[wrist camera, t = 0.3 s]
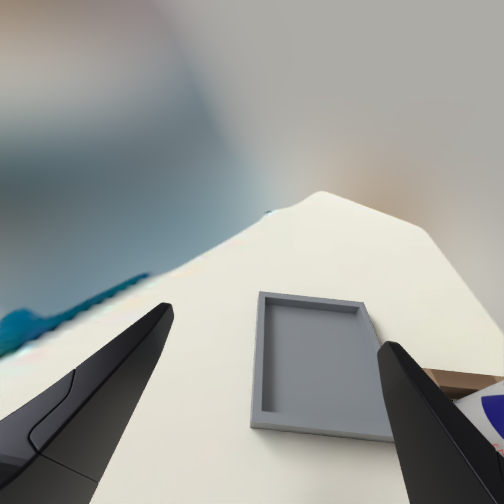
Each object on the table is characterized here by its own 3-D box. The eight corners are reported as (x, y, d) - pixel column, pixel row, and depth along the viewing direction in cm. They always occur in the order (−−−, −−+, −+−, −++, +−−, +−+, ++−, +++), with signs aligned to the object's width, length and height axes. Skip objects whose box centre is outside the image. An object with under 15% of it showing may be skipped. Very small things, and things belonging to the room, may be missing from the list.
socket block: (573, 522, 17) (619, 525, 15) (453, 509, 17) (483, 510, 15) (484, 387, 24) (507, 377, 22) (399, 378, 24) (415, 367, 22)
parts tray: (402, 443, 20) (416, 439, 18) (249, 427, 20) (251, 421, 18) (357, 311, 30) (363, 302, 29) (257, 301, 30) (259, 291, 29)
